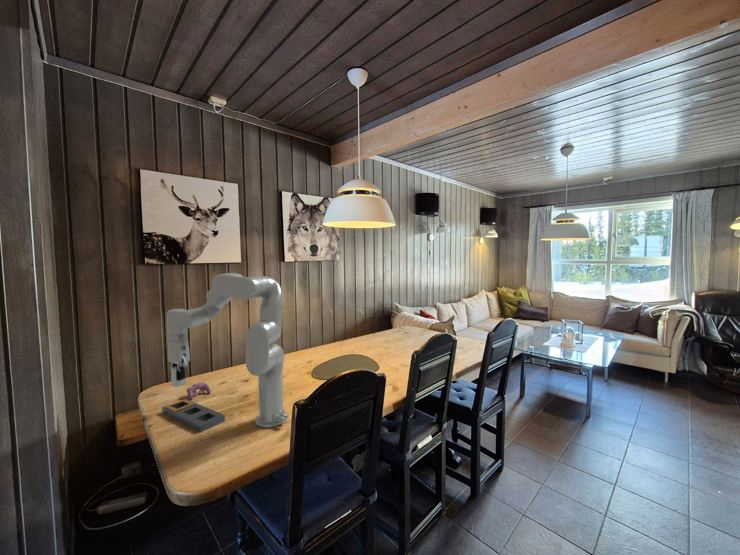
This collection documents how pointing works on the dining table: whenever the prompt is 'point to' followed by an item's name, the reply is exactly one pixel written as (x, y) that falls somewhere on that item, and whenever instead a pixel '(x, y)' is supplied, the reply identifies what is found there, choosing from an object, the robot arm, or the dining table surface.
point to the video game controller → (197, 386)
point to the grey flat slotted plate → (193, 415)
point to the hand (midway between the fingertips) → (178, 378)
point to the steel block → (174, 377)
